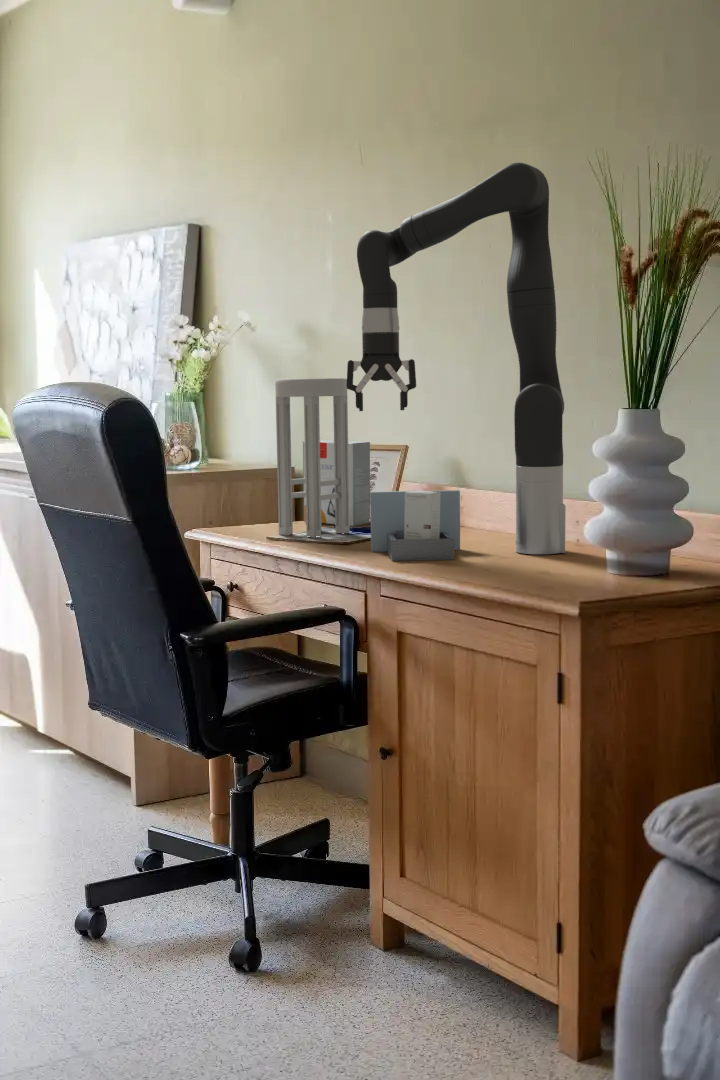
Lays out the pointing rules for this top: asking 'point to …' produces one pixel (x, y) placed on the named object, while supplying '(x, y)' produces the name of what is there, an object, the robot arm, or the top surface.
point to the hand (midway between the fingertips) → (381, 410)
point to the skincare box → (422, 515)
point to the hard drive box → (357, 481)
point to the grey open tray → (419, 547)
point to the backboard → (392, 512)
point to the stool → (312, 453)
